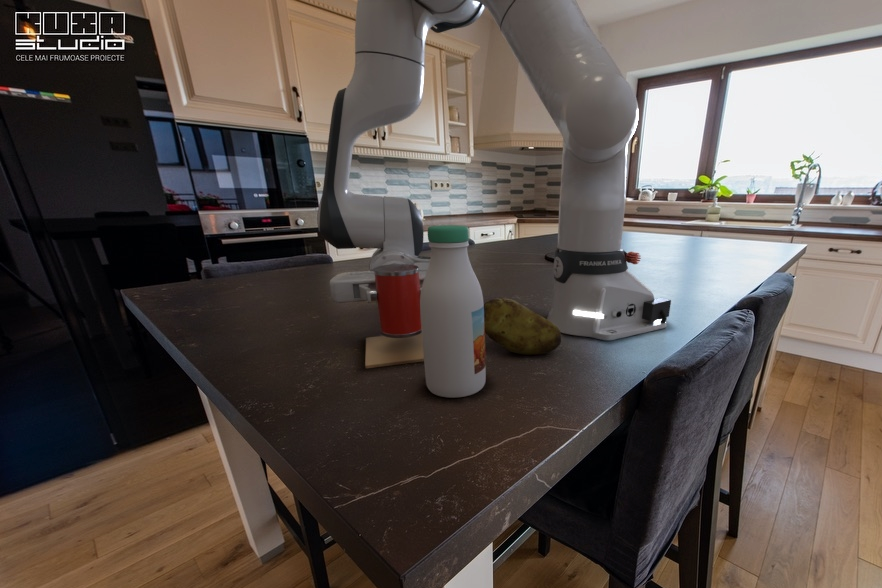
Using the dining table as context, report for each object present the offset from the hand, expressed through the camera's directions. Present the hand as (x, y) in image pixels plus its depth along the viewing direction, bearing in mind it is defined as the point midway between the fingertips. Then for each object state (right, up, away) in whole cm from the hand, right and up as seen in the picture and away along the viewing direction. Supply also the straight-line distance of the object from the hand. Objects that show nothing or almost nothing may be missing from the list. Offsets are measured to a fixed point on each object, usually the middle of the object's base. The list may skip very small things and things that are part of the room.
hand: (399, 295), depth 59 cm
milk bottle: (+10, -13, -8) cm, 18 cm away
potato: (+18, -8, +4) cm, 20 cm away
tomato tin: (0, -5, +3) cm, 6 cm away
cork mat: (0, -8, +4) cm, 9 cm away
